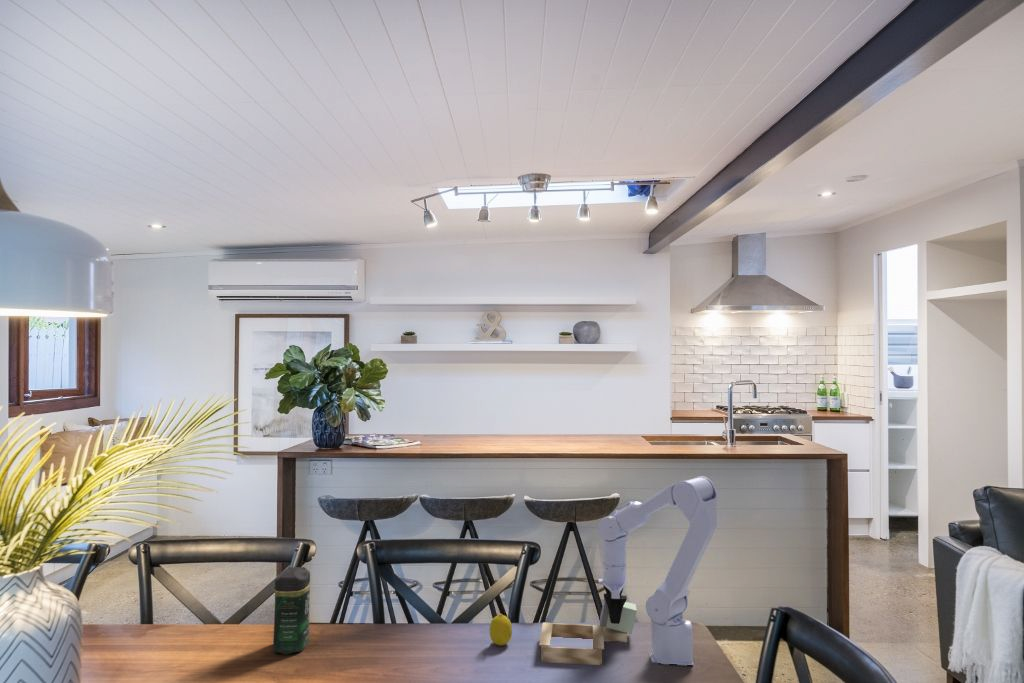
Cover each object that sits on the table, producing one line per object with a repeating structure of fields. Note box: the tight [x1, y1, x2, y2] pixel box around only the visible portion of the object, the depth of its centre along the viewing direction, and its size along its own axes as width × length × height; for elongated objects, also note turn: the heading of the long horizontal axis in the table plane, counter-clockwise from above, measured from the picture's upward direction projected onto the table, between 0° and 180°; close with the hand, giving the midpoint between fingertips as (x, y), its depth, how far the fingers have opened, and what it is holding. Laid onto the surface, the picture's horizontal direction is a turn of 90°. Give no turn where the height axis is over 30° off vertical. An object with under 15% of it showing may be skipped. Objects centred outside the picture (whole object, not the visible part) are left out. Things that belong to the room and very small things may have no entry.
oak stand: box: [603, 627, 628, 643], centre depth 166 cm, size 6×6×2 cm
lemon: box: [489, 613, 513, 647], centre depth 162 cm, size 6×6×8 cm
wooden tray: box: [538, 622, 605, 666], centre depth 158 cm, size 15×14×4 cm
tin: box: [599, 598, 638, 635], centre depth 166 cm, size 8×4×6 cm, turn 83°
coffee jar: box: [272, 566, 311, 655], centre depth 162 cm, size 10×8×19 cm
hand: (614, 617), depth 166 cm, fingers open, 7 cm apart
